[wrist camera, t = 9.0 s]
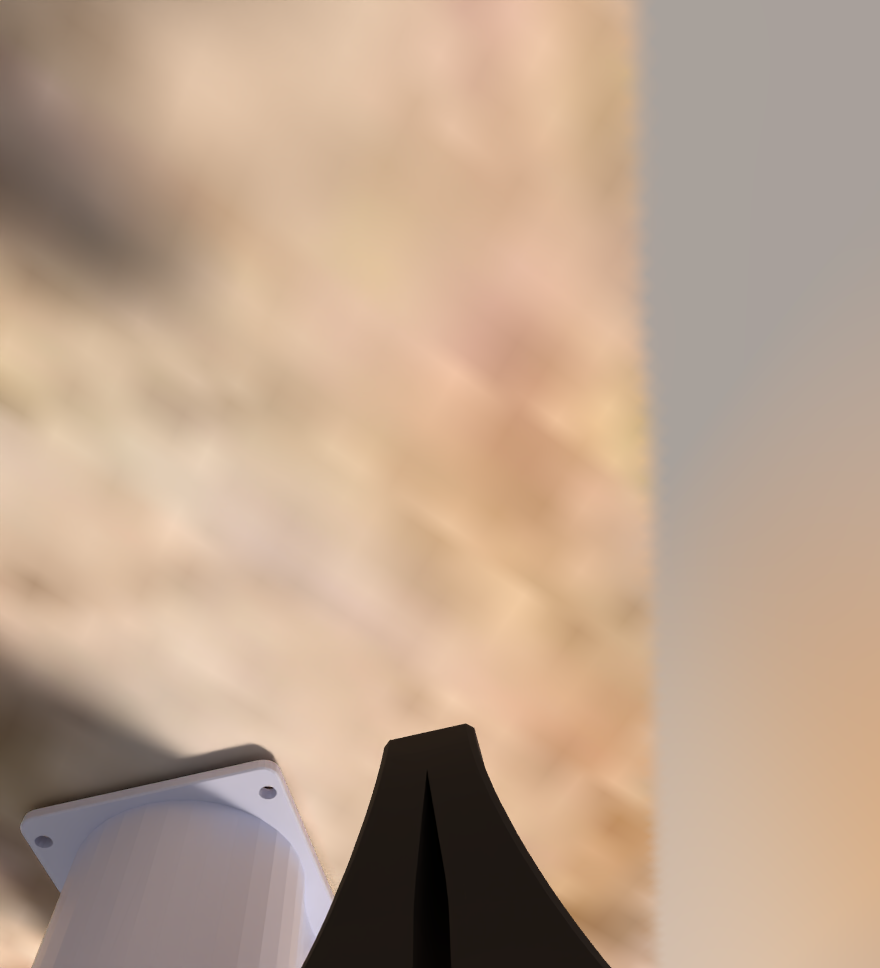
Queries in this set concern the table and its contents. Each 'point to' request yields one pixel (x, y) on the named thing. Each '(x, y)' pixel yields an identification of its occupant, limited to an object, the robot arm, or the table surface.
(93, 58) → the table surface
